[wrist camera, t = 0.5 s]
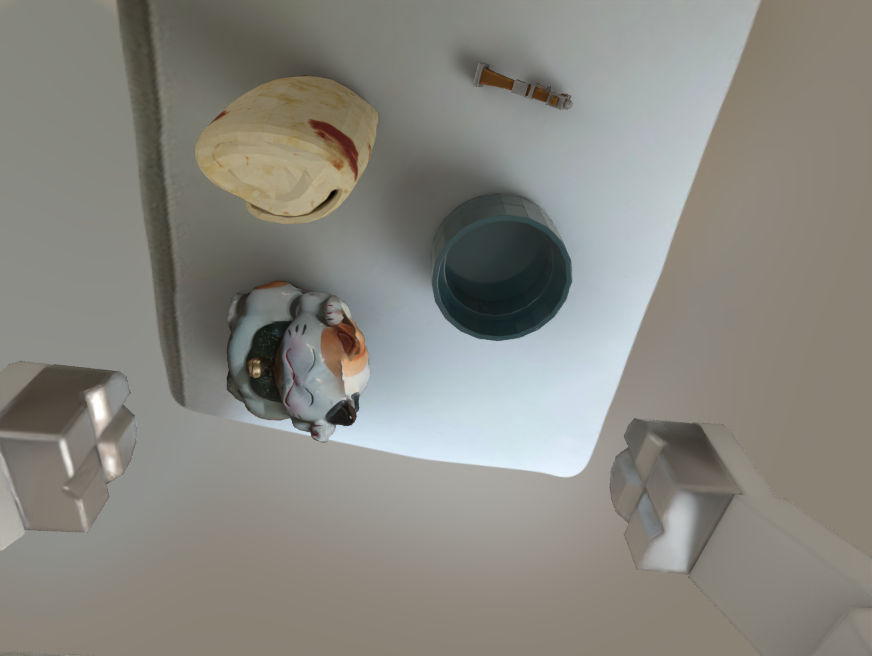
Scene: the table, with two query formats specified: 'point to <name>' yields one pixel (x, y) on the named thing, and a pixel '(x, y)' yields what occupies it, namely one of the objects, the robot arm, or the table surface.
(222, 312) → the table surface
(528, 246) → the teal round bowl
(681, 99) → the table surface
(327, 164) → the food model
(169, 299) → the table surface
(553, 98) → the wooden post with brackets
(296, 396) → the lucky cat figurine
